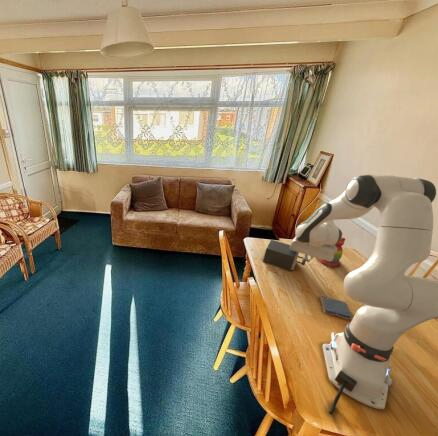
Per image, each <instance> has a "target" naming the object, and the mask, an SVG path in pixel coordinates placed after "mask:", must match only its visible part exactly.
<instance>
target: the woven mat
mask: <svg viewBox="0 0 438 436" xmlns="http://www.w3.org/2000/svg"><path fill="white" fill-rule="evenodd" d="M319 300H320V304H322V311H323V312H324V313H325V314H327V315H331V316H337V317H339V318H342V319H346V320H351V321H352V319H353V315H352V314H351V310H350V309H349V305H348V303H347V302H346V301H343V300H339V299H338V300H337V299H335V298H332V297H327V296H326V297H325V296H323V295H322V296H320V297H319Z"/></svg>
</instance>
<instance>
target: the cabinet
mask: <svg viewBox="0 0 438 436" xmlns="http://www.w3.org/2000/svg"><path fill="white" fill-rule="evenodd" d="M290 245H291V244H288V243H285V242H281V241H277V240H275V239H270V241H269V243H268V244H267V246H266V248H265V251H264V256H263V260H262V262H263V263H266V264H268V265H271V266H274V267H277V268H280V269H283V270H287V271H289V272H291V270H292V269H291V267H292V264H293V261H294V258H295V255H296V251H292V250H290V248H289V247H290Z"/></svg>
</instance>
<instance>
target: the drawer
mask: <svg viewBox="0 0 438 436" xmlns="http://www.w3.org/2000/svg"><path fill="white" fill-rule="evenodd" d="M299 254H300V253H299V252H296V255H295V258H294V261H293V264H292V267H291V270H292V271H294V270H295V266H296V263H298V264H300V265H302V266H305V265H306V261H305V260H306V258H305V256H299ZM298 259H302V261H299V260H298Z"/></svg>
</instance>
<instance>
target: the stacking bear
mask: <svg viewBox="0 0 438 436" xmlns="http://www.w3.org/2000/svg"><path fill="white" fill-rule="evenodd" d="M345 241H346V238H345V237H342V238H341V240H340V241H339V242H338V243H337V244H335V246H336V247H337V248H338V250H337V252H336V253H334V258H333V260H332V261H326V260H323V259H320V258H317V260H318V262H320V263H321V264H322V265H324V266H328V267H332V268H333V267H338V266H339V265H340V260H341V259H342V256H343V251H344V249H343V246H344V245H345Z"/></svg>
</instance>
